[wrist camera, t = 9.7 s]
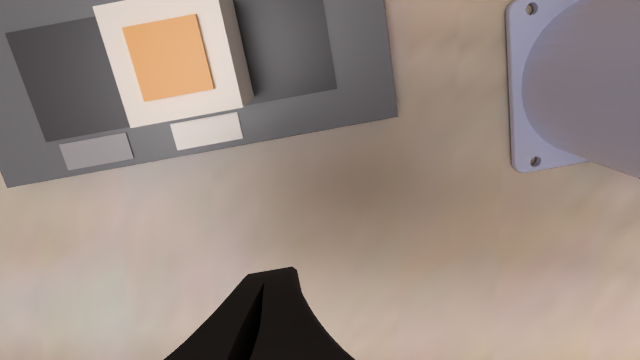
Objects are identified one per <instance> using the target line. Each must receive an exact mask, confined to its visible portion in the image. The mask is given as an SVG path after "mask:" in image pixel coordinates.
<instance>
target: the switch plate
mask: <svg viewBox="0 0 640 360" xmlns="http://www.w3.org/2000/svg"><path fill="white" fill-rule="evenodd" d="M118 1H124V0H0V172H1V174H2V176H3V179H4V181H5V184H6V186H7V188H10V187H15V186H21V185H26V184H32V183H37V182H43V181H48V180H53V179H59V178H64V177H70V176H75V175H81V174H86V173H92V172H97V171H103V170H108V169H114V168H119V167H125V166H130V165H136V164H141V163H147V162H152V161H157V160H163V159H168V158H174V157H179V156H185V155H190V154H196V153H201V152H207V151H212V150H218V149H223V148H229V147H234V146H240V145H245V144H251V143H256V142H262V141H267V140H272V139H278V138H283V137H289V136H294V135H300V134H305V133H311V132H316V131H322V130H327V129H333V128H338V127H344V126H349V125H355V124H360V123H366V122H371V121H376V120H382V119H387V118H393V117H398V113H397V105H396V97H395V89H394V80H393V72H392V64H391V56H390V47H389V39H388V31H387V23H386V14H385V6H384V0H233V3H234V8H235V12H236V17H237V22H238V26H239V31H240V35H241V40H242V44H243V49H244V53H245V58H246V62H247V67H248V71H249V76H250V81H251V85H252V90H253V94H254V98H253V99H252V100H251V101H250V102H249V103H248V104H247V105H245V106H244V107H243V108H238V109H233V110H227V111H222V112H216V113H211V114H205V115H200V116H194V117H189V118H184V119H178V120H173V121H167V122H162V123H156V124H151V125H145V126H140V127H135V128H130V125H129V122H128V119H127V115H126V112H125V109H124V106H123V103H122V99H121V96H120V93H119V90H118V87H117V84H116V80H115V77H114V74H113V71H112V68H111V64H110V61H109V58H108V55H107V52H106V49H105V45H104V42H103V39H102V36H101V33H100V29H99V26H98V23H97V20H96V17H95V13H94V10H93V7H92V6H97V5H102V4H108V3H113V2H118Z"/></svg>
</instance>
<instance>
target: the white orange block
mask: <svg viewBox="0 0 640 360" xmlns="http://www.w3.org/2000/svg"><path fill="white" fill-rule="evenodd" d="M92 7H93V10H94V13H95V17H96V20H97V23H98V26H99V29H100V33H101V36H102V39H103V42H104V45H105V49H106V52H107V55H108V58H109V61H110V64H111V68H112V71H113V74H114V77H115V80H116V84H117V87H118V90H119V93H120V96H121V99H122V103H123V106H124V109H125V112H126V115H127V119H128V122H129V125H130V128H135V127H140V126H145V125H151V124H156V123H162V122H167V121H173V120H178V119H184V118H189V117H194V116H200V115H205V114H211V113H216V112H222V111H227V110H233V109H238V108H243V107H244V106H245V105H247V104H248V103H249V102H250V101H251V100H252V99H253V98H254V94H253V90H252V85H251V81H250V76H249V71H248V67H247V62H246V58H245V53H244V49H243V44H242V40H241V35H240V31H239V26H238V22H237V17H236V12H235V8H234V3H233V0H124V1H118V2H113V3H108V4H102V5H97V6H92Z"/></svg>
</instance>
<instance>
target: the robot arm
mask: <svg viewBox="0 0 640 360" xmlns="http://www.w3.org/2000/svg"><path fill="white" fill-rule="evenodd" d="M528 4H531V5H532V6H533V12H532V13H531V15H528V14H527V12H526V7H527V6H528ZM506 34H507V58H508V82H509V106H510V130H511V155H512V166H513V168H514V169H515V170H516V171H518V172H520V173H528V172H533V171H539V170H545V169H550V168H556V167H561V166H567V165H572V164H578V163H583V162H589V161H593V162H596V163H598V164H601V165H604V166H606V167H609V168H612V169H615V170H617V171H620V172H623V173H625V174H628V175H631V176H633V177H636V178H639V179H640V0H515V1H512V2H511V3H510V4H509V5H508V7H507V9H506ZM535 156H536V158H537V160H536V162H535V163H534V164H532V165H531V164H530V161H531V159H532V158H533V157H535ZM164 360H355V359H354V358H353V357H351V356H350V355H349V354H348V353H347V352H346V351H344V350H343V349H342V348H341V347H340V345H339V344H338V343H337V342H336V341H335V340H334V339H333V338H332V337H331V336H330V335H329V334H328V332H327V331H326V330H325V329H324V327H323V326H322V325H321V324H320V322H319V321H318V319H317V318H316V316H315V315H314V313H313V312H312V310H311V309H310V307H309V305H308V304H307V302H306V300H305V298H304V296H303V294H302V292H301V288H300V283H299V278H298V273H297V270H296V269H295V268H293V267H287V268H282V269H276V270H270V271H264V272H258V273H252V274H248V275H247V276H246V277H245V278H244V279H243V280H242V281H241V282H240V283H239V285H238V286H237V287H236V288H235V289H234V290H233V292H232V293H231V294H230V295H229V296H228V297H227V298H226V300H225V301H224V302H223V303H222V304H221V305H220V306H219V307H218V308H217V310H216V311H215V312H214V313H213V314H212V315H211V316H210V317H209V318H208V319H207V320H206V321H205V322H204V323H203V324H202V325H201V326H200V327H199V328H198V329H197V330H196V331H195V332H194V333H193V334H192V335H191V336H190V337H189V338H188V339H187V340H186V341H185V342H184V343H183V344H182V345H180V346H179V347H178V348H177V349H176V350H175V351H174V352H172V353H171V354H170V355H169V356H167V357H166V358H165V359H164Z"/></svg>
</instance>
